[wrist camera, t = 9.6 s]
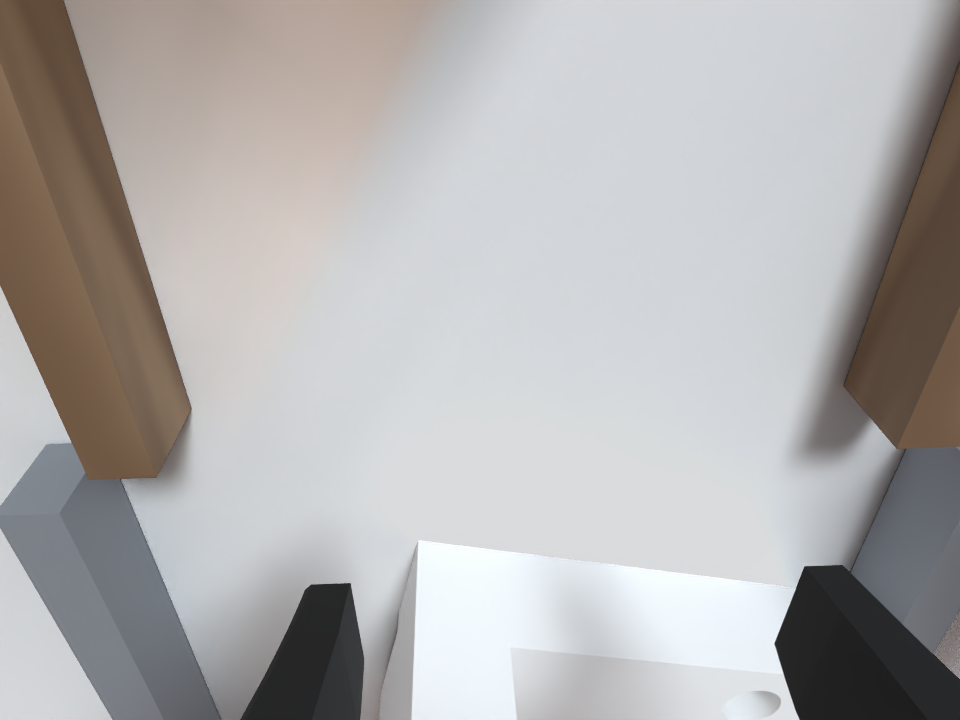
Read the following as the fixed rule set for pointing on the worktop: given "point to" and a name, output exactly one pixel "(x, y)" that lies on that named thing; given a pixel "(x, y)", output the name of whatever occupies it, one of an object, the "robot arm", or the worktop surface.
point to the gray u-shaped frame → (168, 656)
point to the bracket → (581, 642)
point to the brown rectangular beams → (142, 332)
